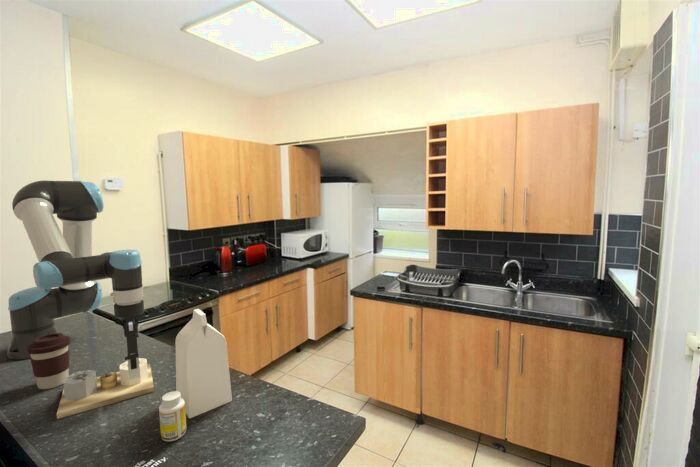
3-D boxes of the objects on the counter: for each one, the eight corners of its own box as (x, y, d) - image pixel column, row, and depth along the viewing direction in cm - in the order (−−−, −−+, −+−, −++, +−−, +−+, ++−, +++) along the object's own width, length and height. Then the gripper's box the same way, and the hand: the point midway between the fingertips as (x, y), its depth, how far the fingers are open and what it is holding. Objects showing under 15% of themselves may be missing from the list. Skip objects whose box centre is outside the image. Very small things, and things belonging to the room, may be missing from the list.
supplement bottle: (180, 423, 86) (178, 386, 84) (190, 433, 82) (188, 394, 81) (157, 435, 81) (154, 396, 80) (166, 446, 78) (163, 405, 77)
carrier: (65, 389, 100) (63, 368, 100) (150, 368, 113) (149, 349, 112) (57, 419, 87) (54, 395, 86) (154, 391, 99) (152, 370, 99)
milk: (232, 400, 95) (228, 312, 92) (189, 418, 87) (183, 323, 84) (216, 383, 104) (212, 302, 101) (176, 397, 96) (170, 311, 93)
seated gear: (67, 391, 97) (65, 374, 96) (97, 383, 101) (95, 367, 100) (63, 403, 91) (62, 386, 91) (95, 394, 95) (94, 378, 95)
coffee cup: (49, 394, 98) (43, 345, 96) (22, 390, 100) (16, 342, 98) (82, 376, 107) (77, 332, 106) (57, 373, 109) (52, 329, 108)
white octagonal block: (147, 370, 108) (146, 356, 108) (148, 380, 102) (147, 365, 102) (121, 377, 104) (119, 362, 104) (121, 388, 98) (119, 372, 98)
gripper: (114, 292, 109) (119, 354, 111) (112, 316, 88) (118, 391, 91) (141, 289, 113) (145, 348, 115) (146, 311, 92) (150, 383, 95)
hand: (133, 367), depth 103 cm, fingers open, 13 cm apart
